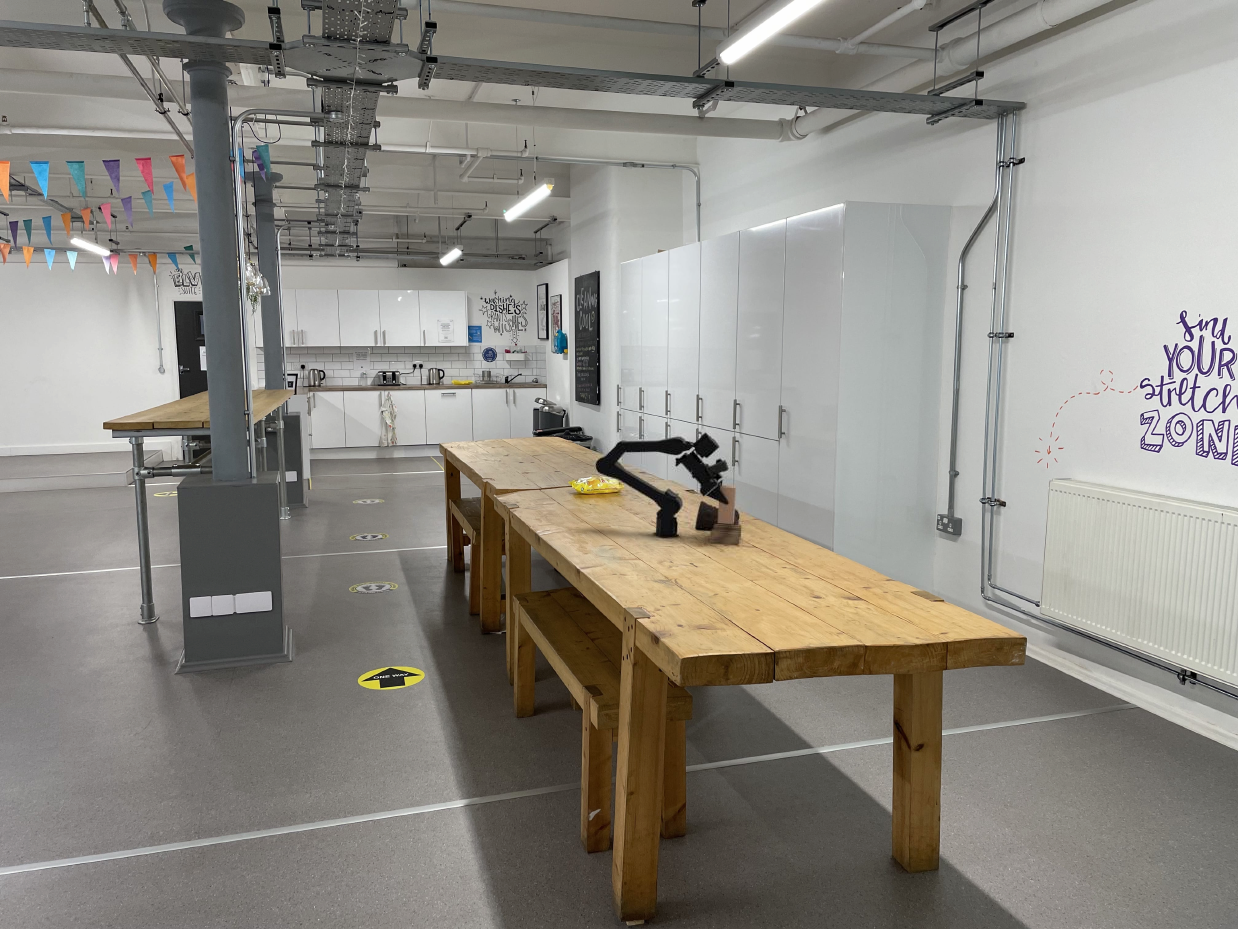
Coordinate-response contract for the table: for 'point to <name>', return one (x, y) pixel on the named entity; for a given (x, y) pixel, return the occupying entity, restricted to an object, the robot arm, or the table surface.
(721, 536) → the rack
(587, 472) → the table surface
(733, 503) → the clay block
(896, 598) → the table surface
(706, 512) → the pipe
